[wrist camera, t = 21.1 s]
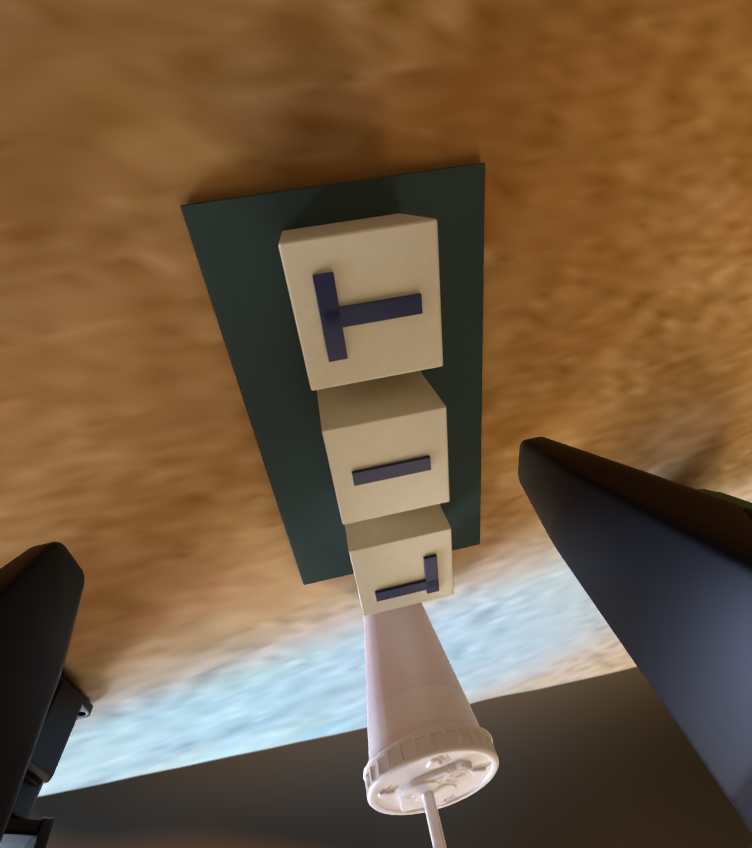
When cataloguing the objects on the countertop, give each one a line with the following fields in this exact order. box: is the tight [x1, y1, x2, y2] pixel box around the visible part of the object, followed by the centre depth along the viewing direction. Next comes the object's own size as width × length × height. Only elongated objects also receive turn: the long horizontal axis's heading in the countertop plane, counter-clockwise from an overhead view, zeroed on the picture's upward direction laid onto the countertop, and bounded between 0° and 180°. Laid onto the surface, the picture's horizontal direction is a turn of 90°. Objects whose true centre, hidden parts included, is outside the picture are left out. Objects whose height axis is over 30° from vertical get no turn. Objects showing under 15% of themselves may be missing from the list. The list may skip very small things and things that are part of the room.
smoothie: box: [363, 603, 499, 848], centre depth 21 cm, size 6×6×14 cm
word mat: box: [181, 163, 485, 585], centre depth 19 cm, size 11×20×1 cm, turn 7°
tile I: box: [317, 371, 450, 524], centre depth 17 cm, size 4×4×5 cm
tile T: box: [278, 213, 443, 390], centre depth 14 cm, size 4×4×5 cm
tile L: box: [345, 504, 454, 616], centre depth 20 cm, size 4×4×5 cm
